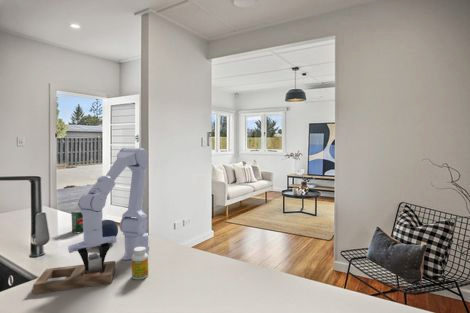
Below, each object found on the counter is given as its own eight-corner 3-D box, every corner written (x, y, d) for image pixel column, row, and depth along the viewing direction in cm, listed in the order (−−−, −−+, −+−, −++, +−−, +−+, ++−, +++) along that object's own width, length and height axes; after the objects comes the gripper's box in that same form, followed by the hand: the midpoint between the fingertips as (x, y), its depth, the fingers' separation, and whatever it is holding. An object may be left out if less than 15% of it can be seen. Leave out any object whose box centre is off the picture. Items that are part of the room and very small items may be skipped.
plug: (98, 270, 98) (98, 251, 98) (102, 274, 95) (101, 255, 95) (86, 274, 96) (85, 254, 95) (89, 278, 92) (88, 258, 92)
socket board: (115, 268, 102) (115, 259, 102) (111, 283, 92) (110, 273, 91) (46, 277, 96) (46, 267, 96) (33, 294, 85) (33, 283, 85)
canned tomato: (83, 233, 142) (83, 212, 141) (68, 233, 142) (67, 212, 141) (92, 228, 150) (91, 208, 149) (77, 228, 150) (76, 208, 149)
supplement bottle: (133, 281, 93) (132, 252, 92) (131, 274, 98) (130, 247, 97) (149, 277, 95) (149, 249, 95) (146, 271, 100) (146, 244, 100)
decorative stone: (98, 239, 133) (97, 218, 133) (122, 239, 133) (122, 218, 132) (84, 248, 121) (83, 226, 121) (111, 248, 121) (110, 226, 120)
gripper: (111, 221, 102) (112, 258, 103) (66, 230, 93) (67, 269, 93) (117, 226, 96) (119, 264, 97) (69, 235, 87) (71, 277, 88)
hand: (94, 267), depth 95 cm, fingers closed on plug, 4 cm apart
